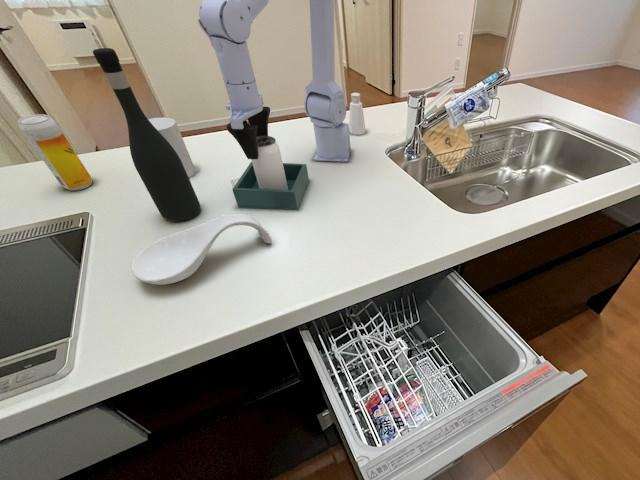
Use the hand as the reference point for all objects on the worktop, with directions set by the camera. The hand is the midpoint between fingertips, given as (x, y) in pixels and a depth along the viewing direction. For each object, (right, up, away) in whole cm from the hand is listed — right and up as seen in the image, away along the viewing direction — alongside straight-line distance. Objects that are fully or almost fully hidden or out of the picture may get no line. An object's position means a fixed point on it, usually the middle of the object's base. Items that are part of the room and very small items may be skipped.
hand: (258, 150), depth 76 cm
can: (+1, -7, +7) cm, 10 cm away
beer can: (-46, -6, +7) cm, 47 cm away
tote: (+1, -7, +8) cm, 10 cm away
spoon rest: (-5, -25, -10) cm, 28 cm away
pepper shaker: (+18, +21, +35) cm, 45 cm away
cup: (-26, 0, +13) cm, 29 cm away
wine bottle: (-17, -14, 0) cm, 22 cm away
